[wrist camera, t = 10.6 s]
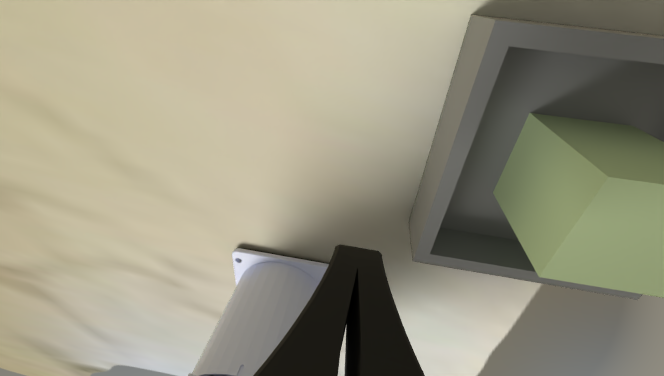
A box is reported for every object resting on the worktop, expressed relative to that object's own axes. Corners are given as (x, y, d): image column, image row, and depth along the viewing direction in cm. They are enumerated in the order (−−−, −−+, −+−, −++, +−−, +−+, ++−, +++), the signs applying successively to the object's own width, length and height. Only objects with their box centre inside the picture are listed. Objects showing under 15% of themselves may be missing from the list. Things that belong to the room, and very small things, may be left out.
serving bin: (598, 253, 19) (637, 299, 16) (408, 222, 20) (412, 261, 17) (766, 47, 12) (883, 63, 9) (471, 14, 13) (495, 20, 10)
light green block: (579, 205, 16) (664, 297, 11) (492, 192, 17) (539, 276, 12) (633, 125, 14) (773, 199, 9) (529, 113, 14) (608, 176, 9)
